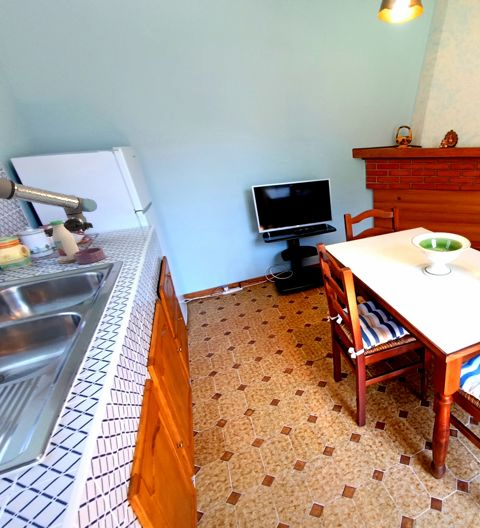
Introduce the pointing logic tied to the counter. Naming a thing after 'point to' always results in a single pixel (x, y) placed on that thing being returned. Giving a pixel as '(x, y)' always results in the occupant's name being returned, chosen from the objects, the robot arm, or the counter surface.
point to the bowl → (89, 255)
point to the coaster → (66, 262)
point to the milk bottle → (63, 241)
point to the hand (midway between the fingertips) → (66, 231)
